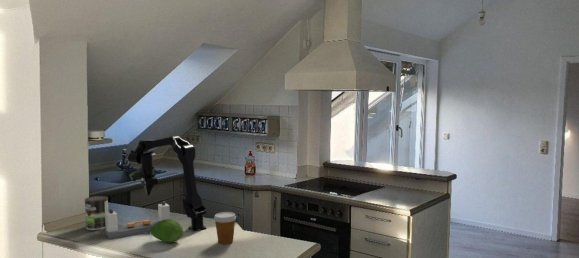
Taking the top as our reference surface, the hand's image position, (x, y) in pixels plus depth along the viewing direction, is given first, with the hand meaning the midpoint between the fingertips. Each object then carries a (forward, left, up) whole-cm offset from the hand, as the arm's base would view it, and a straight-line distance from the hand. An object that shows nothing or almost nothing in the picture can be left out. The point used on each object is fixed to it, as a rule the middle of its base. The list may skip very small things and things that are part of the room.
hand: (148, 195), depth 231 cm
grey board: (-15, +9, -13) cm, 21 cm away
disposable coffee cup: (-52, -18, -13) cm, 56 cm away
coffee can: (+3, +24, -13) cm, 27 cm away
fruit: (-37, +3, -13) cm, 39 cm away
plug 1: (-15, +21, -10) cm, 28 cm away
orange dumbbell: (-15, +9, -10) cm, 20 cm away
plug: (-15, -3, -10) cm, 18 cm away
